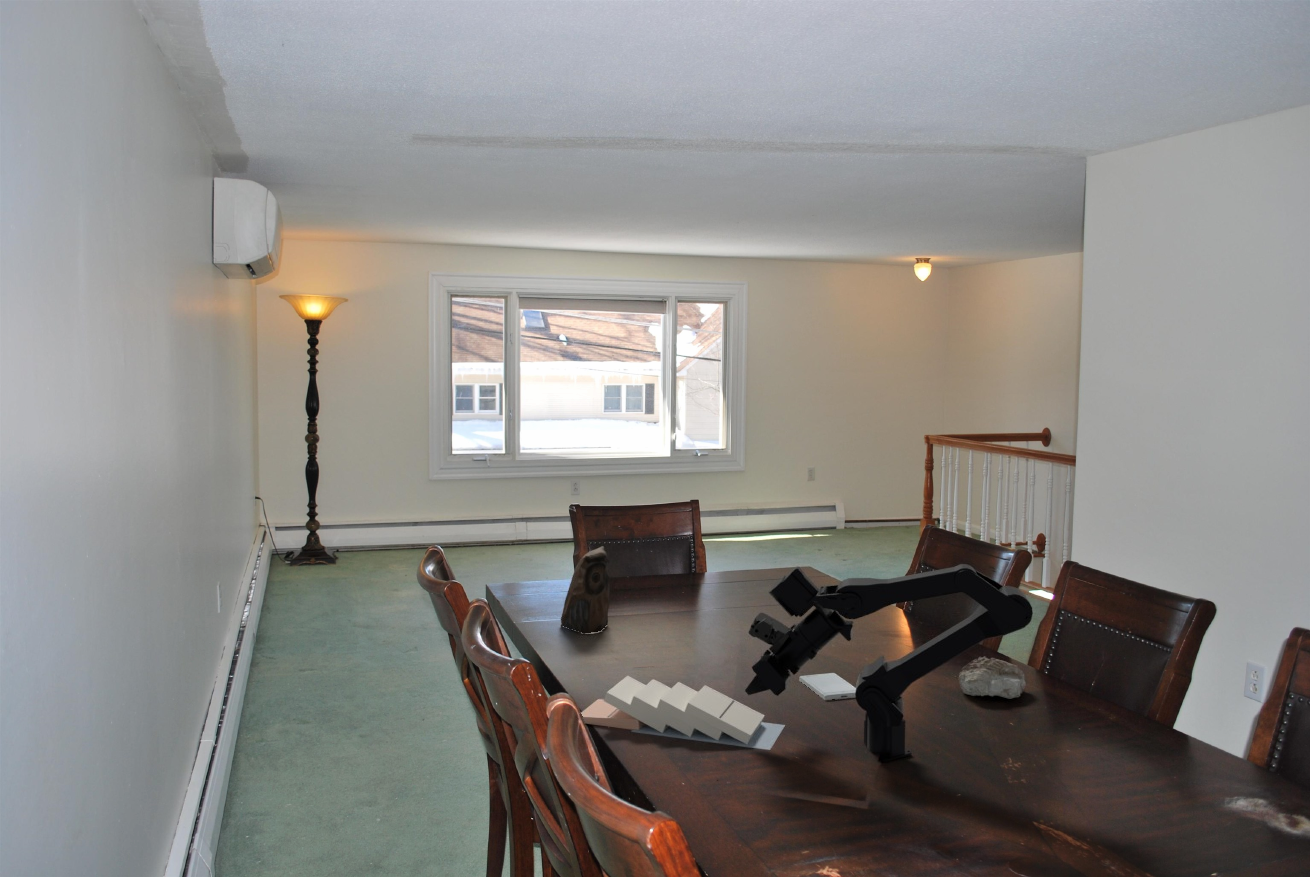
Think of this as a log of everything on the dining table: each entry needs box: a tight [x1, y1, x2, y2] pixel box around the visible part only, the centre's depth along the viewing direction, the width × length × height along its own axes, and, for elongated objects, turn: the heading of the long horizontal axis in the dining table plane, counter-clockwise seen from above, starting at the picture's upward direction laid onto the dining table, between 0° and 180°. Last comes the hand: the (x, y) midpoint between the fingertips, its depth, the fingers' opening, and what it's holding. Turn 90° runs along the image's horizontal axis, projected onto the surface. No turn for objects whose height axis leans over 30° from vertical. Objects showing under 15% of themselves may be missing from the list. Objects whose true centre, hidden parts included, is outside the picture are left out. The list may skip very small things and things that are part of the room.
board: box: [631, 721, 786, 751], centre depth 169 cm, size 25×12×1 cm, turn 70°
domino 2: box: [603, 675, 669, 733], centre depth 173 cm, size 2×10×12 cm
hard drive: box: [798, 672, 856, 701], centre depth 193 cm, size 2×8×12 cm
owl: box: [560, 545, 611, 633], centre depth 239 cm, size 13×13×20 cm
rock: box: [958, 655, 1027, 700], centre depth 190 cm, size 14×9×10 cm
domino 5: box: [685, 684, 765, 744], centre depth 168 cm, size 2×10×12 cm
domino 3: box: [630, 679, 697, 737], centre depth 171 cm, size 2×10×12 cm
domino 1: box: [580, 698, 645, 730], centre depth 175 cm, size 2×10×12 cm
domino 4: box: [657, 681, 724, 740], centre depth 170 cm, size 2×10×12 cm
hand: (747, 692), depth 166 cm, fingers closed
